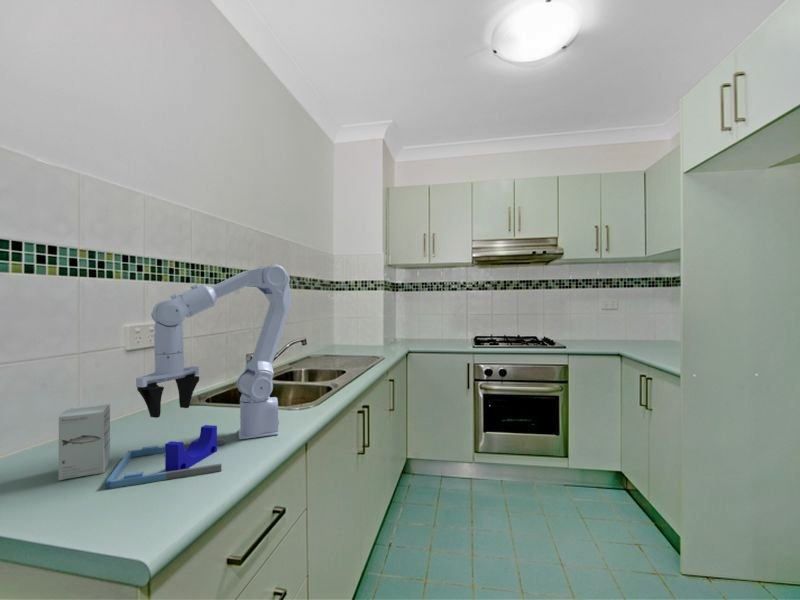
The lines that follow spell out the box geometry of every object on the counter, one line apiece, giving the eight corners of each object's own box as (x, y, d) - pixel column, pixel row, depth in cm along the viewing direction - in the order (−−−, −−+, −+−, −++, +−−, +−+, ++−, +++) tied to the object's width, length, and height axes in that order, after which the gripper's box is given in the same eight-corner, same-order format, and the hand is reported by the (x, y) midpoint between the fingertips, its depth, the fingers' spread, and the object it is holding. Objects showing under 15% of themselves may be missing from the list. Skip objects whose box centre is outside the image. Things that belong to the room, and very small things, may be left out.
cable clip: (199, 450, 92) (199, 424, 92) (217, 451, 91) (216, 425, 91) (159, 473, 80) (158, 443, 80) (178, 474, 79) (178, 444, 79)
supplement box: (57, 482, 76) (56, 416, 76) (68, 467, 83) (67, 407, 83) (104, 473, 80) (103, 411, 80) (111, 460, 86) (110, 402, 86)
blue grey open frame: (224, 443, 96) (224, 436, 96) (221, 470, 80) (221, 462, 80) (128, 456, 88) (128, 448, 88) (105, 489, 73) (104, 480, 73)
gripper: (183, 348, 99) (184, 402, 99) (125, 356, 85) (126, 419, 85) (205, 349, 96) (206, 404, 96) (149, 358, 83) (150, 422, 83)
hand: (170, 412), depth 91 cm, fingers open, 7 cm apart
